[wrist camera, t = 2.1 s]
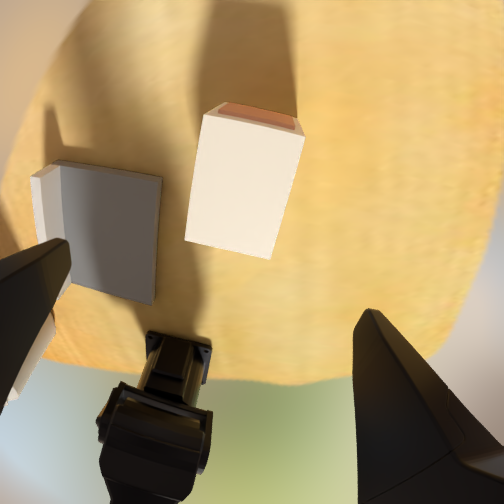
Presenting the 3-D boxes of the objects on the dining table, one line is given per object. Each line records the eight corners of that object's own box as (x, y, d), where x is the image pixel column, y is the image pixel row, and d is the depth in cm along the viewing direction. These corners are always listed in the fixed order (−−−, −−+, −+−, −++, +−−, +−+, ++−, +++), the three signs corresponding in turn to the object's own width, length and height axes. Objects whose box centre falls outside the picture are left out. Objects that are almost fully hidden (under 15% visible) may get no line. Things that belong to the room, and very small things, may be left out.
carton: (272, 210, 22) (269, 259, 16) (207, 196, 21) (184, 240, 16) (298, 115, 18) (306, 132, 13) (225, 98, 18) (204, 109, 13)
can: (5, 300, 30) (-46, 369, 20) (20, 273, 27) (-43, 352, 17) (46, 340, 33) (4, 414, 23) (69, 321, 30) (18, 407, 20)
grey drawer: (155, 298, 27) (142, 326, 24) (65, 272, 26) (46, 296, 23) (162, 177, 21) (143, 197, 18) (54, 159, 20) (27, 175, 17)
